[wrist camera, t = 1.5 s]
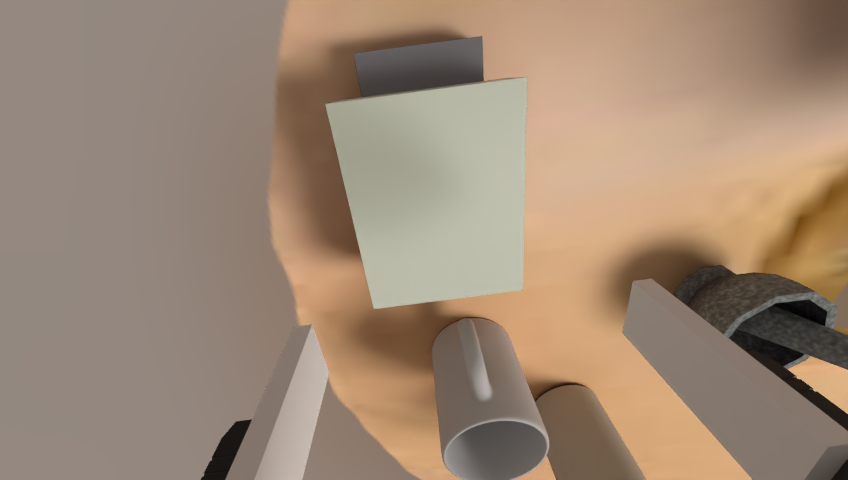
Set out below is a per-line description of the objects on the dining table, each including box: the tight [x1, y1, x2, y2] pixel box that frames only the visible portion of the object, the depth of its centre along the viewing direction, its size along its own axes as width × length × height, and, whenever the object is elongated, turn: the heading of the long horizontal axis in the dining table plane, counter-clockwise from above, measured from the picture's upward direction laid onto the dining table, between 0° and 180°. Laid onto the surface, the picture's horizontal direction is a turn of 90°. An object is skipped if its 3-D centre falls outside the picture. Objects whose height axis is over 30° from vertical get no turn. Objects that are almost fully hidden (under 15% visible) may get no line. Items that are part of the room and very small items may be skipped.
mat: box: [354, 36, 484, 97], centre depth 25 cm, size 8×19×2 cm, turn 7°
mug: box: [432, 318, 549, 480], centre depth 29 cm, size 12×8×11 cm
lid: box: [325, 77, 527, 309], centre depth 22 cm, size 11×14×4 cm
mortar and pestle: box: [673, 266, 848, 370], centre depth 27 cm, size 11×9×12 cm
